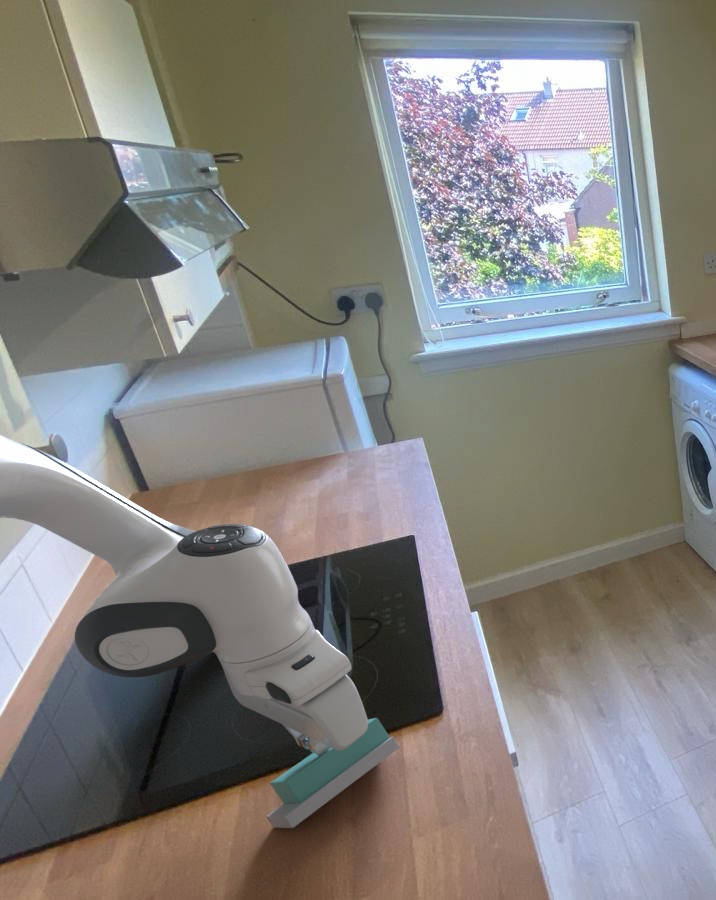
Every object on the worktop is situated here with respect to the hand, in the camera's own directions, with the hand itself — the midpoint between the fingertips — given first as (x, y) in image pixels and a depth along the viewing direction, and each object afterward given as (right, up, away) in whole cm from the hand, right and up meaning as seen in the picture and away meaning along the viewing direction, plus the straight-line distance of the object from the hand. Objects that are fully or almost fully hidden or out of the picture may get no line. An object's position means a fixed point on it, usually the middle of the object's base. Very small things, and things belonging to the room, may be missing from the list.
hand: (316, 747), depth 88 cm
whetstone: (-1, -4, +2) cm, 5 cm away
